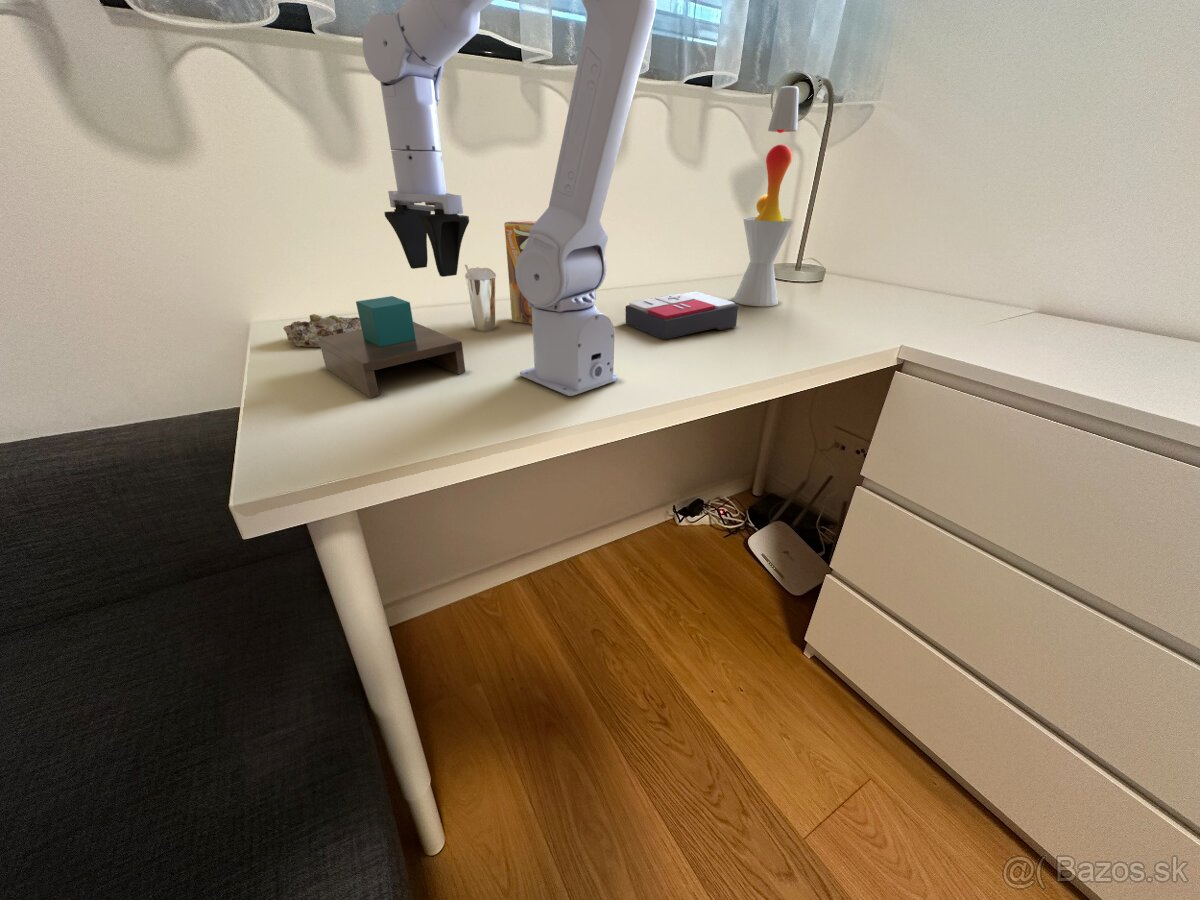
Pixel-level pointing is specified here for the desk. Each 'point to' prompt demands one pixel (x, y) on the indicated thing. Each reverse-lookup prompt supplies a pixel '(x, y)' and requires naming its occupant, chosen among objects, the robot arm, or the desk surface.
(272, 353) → the desk surface
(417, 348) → the shelf
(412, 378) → the desk surface
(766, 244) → the lava lamp
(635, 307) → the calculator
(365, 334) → the cube
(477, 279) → the milkshake
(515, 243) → the candy box
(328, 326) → the mineral rock
